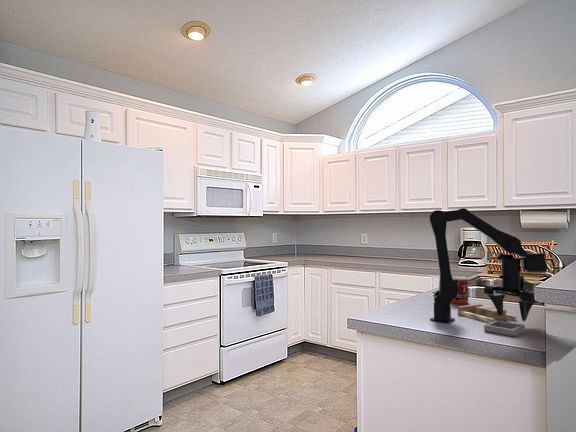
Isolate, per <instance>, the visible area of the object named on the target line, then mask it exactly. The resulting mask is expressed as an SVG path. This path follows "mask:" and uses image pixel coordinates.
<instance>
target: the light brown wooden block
mask: <svg viewBox="0 0 576 432" xmlns="http://www.w3.org/2000/svg"><path fill="white" fill-rule="evenodd" d="M475 314H477V315H481V316H485V317H489V318H493V319H495V320H497V321H505V320H506V321H507V319H506V314H507V309H505V308H503V315H502V316H500V315H499V313H498V311H497V309H496V307H495V306H492V305H483V306H480V307H476V313H475Z"/></svg>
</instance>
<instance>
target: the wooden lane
mask: <svg viewBox="0 0 576 432" xmlns="http://www.w3.org/2000/svg"><path fill="white" fill-rule="evenodd" d="M480 306H484V305H483V304H482V303H474V304H469V305H468V304H466V305H460V306H457V315H459V316H462V317H466V318H469V319H473V320H477V321H481V322H485V323H487V324H488V323H490V322H493V321H495V319H493V318H489V317H485V316H481V315H477V314H476V307H480ZM506 320H509V321H517V316H516V315H514V314H509V313H506Z"/></svg>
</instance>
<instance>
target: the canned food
mask: <svg viewBox="0 0 576 432" xmlns="http://www.w3.org/2000/svg"><path fill="white" fill-rule="evenodd" d="M454 277H456V279H457V287H458V290H459V291H457V296H456V298H455V299H453V300H452V301H451V304H453V305H468V303H469V278H468V277H467V276H462V275H461V276H460V275H459V276H457V275H455V276H454V275H453V276H452V278H454Z"/></svg>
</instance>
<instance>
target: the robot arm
mask: <svg viewBox="0 0 576 432" xmlns="http://www.w3.org/2000/svg"><path fill="white" fill-rule="evenodd" d="M428 220H429V224H430V227H431V230H432V232H433V235H434V240H435V249H436V254H437V261H438V269H439V279H438V281H439V282H438V290H437V291H436V292H434V293H433V295H432V297H433V316H432V317H431V318H429V320H430V321H433V322H438V323H445V324H447V323H450V322H453V321H456V318H453V317H452V314H451V313H452V309H451V307H452V305H451V304H452V303H451V301H452V300H453V299H455V298H456V296H457V291H459V290H458V287H457V279H456V277H454V278H452V273H451V271H452V270H451V266H450V264H451V263H450V257H449V251H448V250H449V249H448V243H447V242H448V241H447V237H446V235H447V223H448V222H453V221H459V220H462V221H463V222H464V223H466V224H468V225H470V226H471V227H472V228H474V229H476V230H477V231H479V232H480V233H482V234H484V235H485V236H486V237H488V238H489V239H490V240H491V241H493V243H495V245H497V247H499V248H500V249H501V251H503V252H506V253H508V254H503V252H498V254H497V255H495V256H494V259H496V260H501V262H500V263H501V274H499V275H498V277H499V279H501V285H499V284H491V285H485V286H484V287H483V294H486V296H487V297H488V298H489V299H490V301H491V302H492V303H493V305H494V306H493V307H496V309H497V311H498V313H499V315H500V316H502V315H503V309H504V299H505V297H506V296H512V297H517V298H519V299H520V300H519V301H518V305H519V312H520V316H521V320H522V322H526V321H527V319H528V317H529V313H530V311H531V309H532V306H534V305H535V304H538V303H539V301H538V302H537V301H535V299H534V291H535V290H534V285H535V283H532V282H530V281H527V280H525V277H524V275H522V273H521V269H522V271H525V273H526V274H528V273H529V274H546V273H547V271H548V263H547V260H546V257H545V253H544V252H536V253H529V252H527V250H525V249H524V247H523V246H522V241H521V240H520V239H519V238H518V237H516V236H514V235H512V234H509V233H506V232H504V231H502V230H500V229H497V228H496V227H494V226H493V225H491V224H490V223H488V222H487V221H484V220H483V219H482V218H480V217H478V216H477V215H475V214H473V213H472V212H470V211H469V209H468V208H463V207H461V208H459V209H455V210H449V211H443V210H440V209H439V210H438V209H437V210H434V211H433V210H432V211H431V213H430V214H429V216H428ZM513 254H515V255H516V256H519V257H516V256H515V257H514V255H513Z"/></svg>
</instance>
